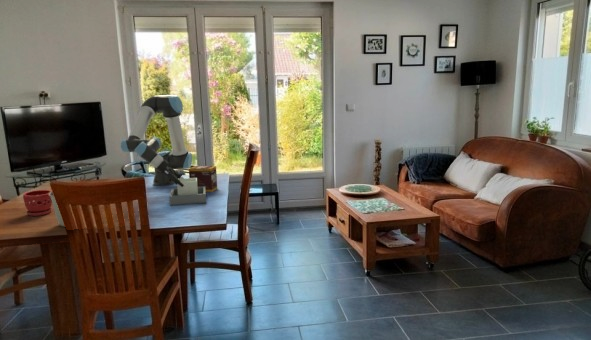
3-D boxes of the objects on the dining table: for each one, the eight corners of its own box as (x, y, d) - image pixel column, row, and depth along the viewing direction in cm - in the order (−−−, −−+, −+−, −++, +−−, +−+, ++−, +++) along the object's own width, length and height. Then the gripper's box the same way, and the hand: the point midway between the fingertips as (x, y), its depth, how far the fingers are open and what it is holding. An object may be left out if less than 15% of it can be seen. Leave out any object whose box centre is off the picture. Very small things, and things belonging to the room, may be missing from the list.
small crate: (179, 197, 238) (178, 178, 236) (198, 196, 241) (196, 177, 239) (178, 201, 228) (177, 182, 226) (197, 200, 230) (196, 181, 228)
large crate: (172, 197, 242) (172, 188, 241) (205, 195, 246) (205, 186, 245) (170, 205, 223) (169, 196, 222) (206, 203, 227) (205, 193, 226)
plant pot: (22, 218, 205) (18, 196, 202) (31, 211, 217) (28, 190, 215) (50, 215, 208) (47, 194, 206) (57, 209, 221) (54, 188, 218)
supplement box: (212, 192, 254) (210, 168, 251) (189, 191, 256) (188, 168, 254) (217, 188, 264) (216, 165, 261) (196, 188, 266) (194, 165, 264)
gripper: (157, 164, 238) (184, 187, 245) (152, 172, 215) (182, 196, 221) (165, 155, 239) (192, 178, 245) (161, 162, 215) (191, 186, 221)
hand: (188, 187), depth 233 cm, fingers open, 13 cm apart
